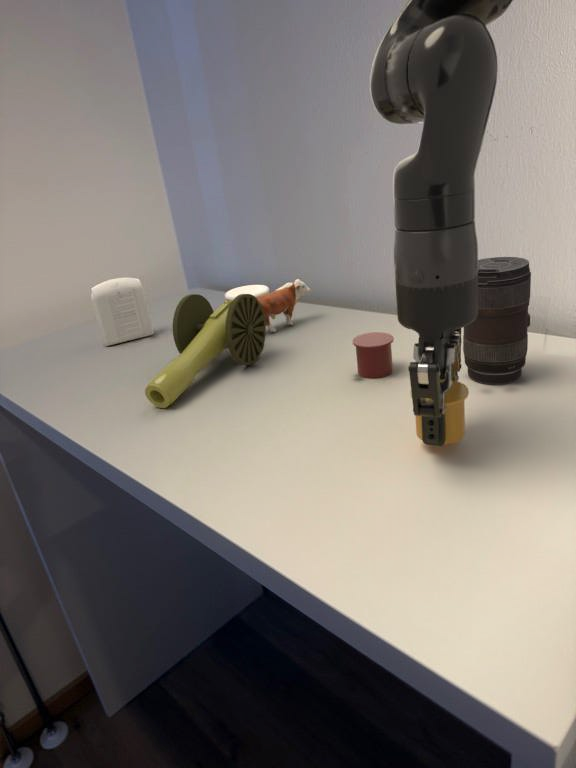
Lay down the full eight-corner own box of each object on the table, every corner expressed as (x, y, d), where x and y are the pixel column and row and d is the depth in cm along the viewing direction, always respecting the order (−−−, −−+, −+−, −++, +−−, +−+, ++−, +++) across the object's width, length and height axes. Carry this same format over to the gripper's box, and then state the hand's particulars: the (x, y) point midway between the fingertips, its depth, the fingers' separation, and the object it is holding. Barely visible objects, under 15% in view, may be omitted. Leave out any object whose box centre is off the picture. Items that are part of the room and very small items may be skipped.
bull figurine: (316, 318, 105) (312, 277, 102) (258, 338, 99) (251, 295, 96) (303, 315, 109) (298, 275, 106) (246, 334, 103) (239, 292, 99)
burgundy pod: (383, 360, 82) (381, 329, 80) (403, 372, 77) (401, 339, 75) (348, 369, 80) (345, 338, 78) (366, 383, 75) (363, 349, 73)
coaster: (253, 313, 115) (251, 297, 113) (218, 311, 120) (215, 295, 119) (279, 299, 122) (277, 284, 121) (245, 298, 128) (242, 283, 126)
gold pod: (447, 414, 61) (446, 374, 59) (480, 436, 56) (480, 393, 54) (402, 428, 60) (399, 388, 58) (432, 452, 55) (430, 409, 53)
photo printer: (152, 330, 114) (137, 272, 109) (156, 335, 110) (142, 275, 105) (102, 343, 110) (85, 283, 105) (105, 348, 106) (88, 287, 101)
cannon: (192, 414, 73) (174, 336, 69) (126, 407, 79) (105, 333, 74) (275, 347, 93) (265, 283, 89) (218, 345, 99) (206, 284, 94)
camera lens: (473, 360, 78) (473, 255, 72) (533, 366, 73) (539, 255, 67) (453, 382, 72) (451, 271, 66) (517, 391, 67) (521, 272, 61)
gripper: (464, 295, 43) (466, 471, 50) (487, 253, 55) (485, 401, 62) (374, 296, 47) (387, 461, 54) (413, 256, 58) (420, 396, 65)
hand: (440, 428), depth 58 cm, fingers closed on gold pod, 5 cm apart
